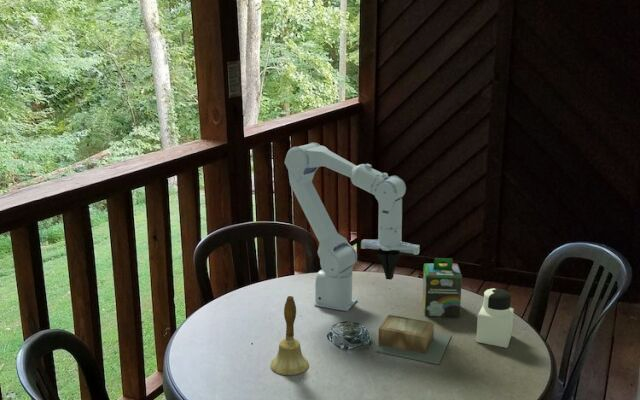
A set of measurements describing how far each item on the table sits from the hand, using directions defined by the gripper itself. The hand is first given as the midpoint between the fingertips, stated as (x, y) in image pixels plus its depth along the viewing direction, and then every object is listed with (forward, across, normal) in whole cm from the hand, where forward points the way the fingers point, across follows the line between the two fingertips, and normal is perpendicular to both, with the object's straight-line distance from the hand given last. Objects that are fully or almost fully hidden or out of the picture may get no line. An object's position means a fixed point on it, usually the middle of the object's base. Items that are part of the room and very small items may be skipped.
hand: (389, 278), depth 148 cm
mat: (+11, +10, -12) cm, 19 cm away
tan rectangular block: (+8, +2, -12) cm, 15 cm away
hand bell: (+10, -13, -32) cm, 36 cm away
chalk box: (+11, +11, +9) cm, 18 cm away
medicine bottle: (+11, +26, -2) cm, 29 cm away
